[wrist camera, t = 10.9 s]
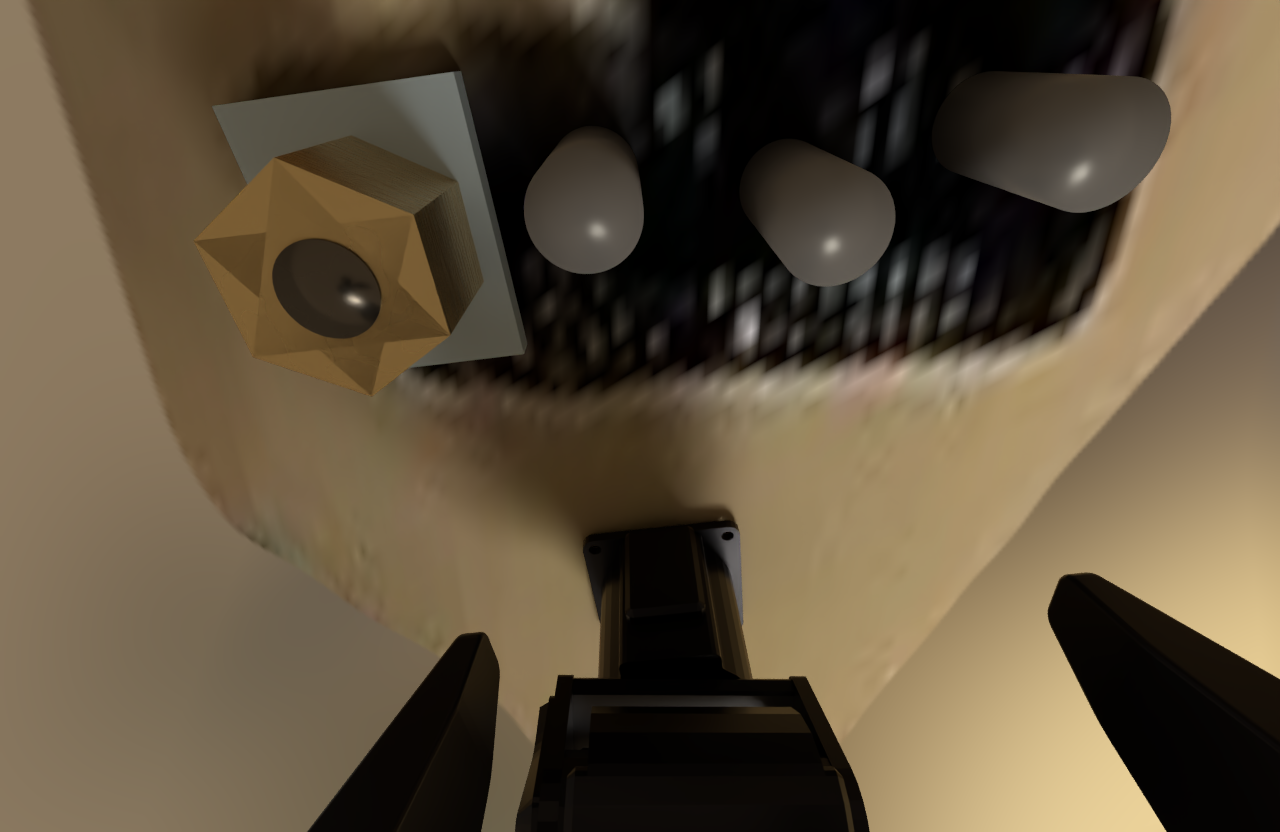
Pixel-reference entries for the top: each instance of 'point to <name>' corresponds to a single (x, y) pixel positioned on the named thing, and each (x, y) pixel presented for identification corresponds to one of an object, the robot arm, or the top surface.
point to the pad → (420, 132)
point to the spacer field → (858, 200)
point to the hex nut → (344, 262)
